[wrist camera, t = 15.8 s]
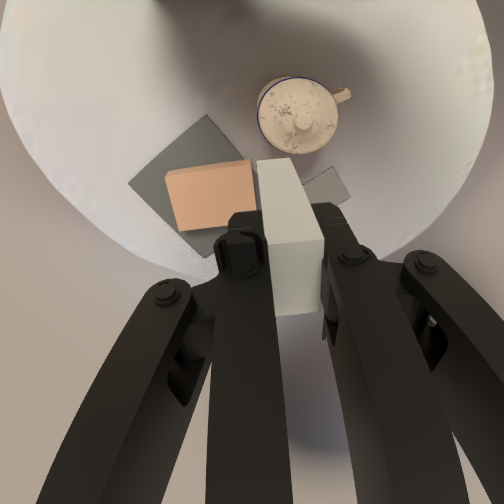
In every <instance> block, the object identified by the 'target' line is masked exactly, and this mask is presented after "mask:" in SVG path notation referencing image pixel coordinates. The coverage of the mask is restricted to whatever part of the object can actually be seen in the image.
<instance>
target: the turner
mask: <svg viewBox="0 0 504 504" xmlns="http://www.w3.org/2000/svg"><path fill="white" fill-rule="evenodd" d="M302 186H303V189H304V191H305V193H306V196H307V198H308V200H309V203H310V204H313V203H324V202H331V203H332V204H334V205H335V206H336V205H338V204H340V203H341V202H343V201H345V200H346V199H348V198H349V197H351V196H350V195H349V193H348V191H347V190H346V188H345V186H344V184H343V183H342V181H341V179H340V178H339V176H338V175H337V173H336V171H335V170H334V168H333V167H331V168H329V169H328V170H326V171H324V172H323V173H321V174H320V175H318V176H316V177H315V178H313V179H312V180H310V181H308V182H307V183H305V184H304V185H302Z"/></svg>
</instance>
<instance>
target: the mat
mask: <svg viewBox="0 0 504 504" xmlns="http://www.w3.org/2000/svg"><path fill="white" fill-rule="evenodd" d="M238 160H244V158H243V157H242V156H241V155H240V154H239V152H238V151H237V150H236V149H235V147H234V146H233V145H232V144H231V143H230V141H229V140H228V139H227V138H226V137H225V136H224V134H223V133H222V132H221V131H220V130H219V128H218V127H217V126H216V125H215V124H214V123H213V121H212V120H211V119H210V118H209V117H208V116H207V114H206V115H205V116H204V117H202V118H201V119H200V120H199V121H197V122H196V123H195V124H194V125H192V126H191V127H190V128H189V129H188V130H186V131H185V132H184V133H183V134H182V135H180V136H179V137H178V138H177V139H176V140H174V141H173V142H172V143H171V144H170V145H169V146H168V147H166V148H165V149H164V150H163V151H162V152H161V153H160V154H159V155H157V156H156V157H155V158H154V159H153V160H152V161H151V162H150V163H149V164H148V165H146V166H145V167H144V168H143V169H142V170H141V171H140V172H139V173H138V174H137V175H136V176H135V177H134V178H133V179H132V180H131V181H130V182H129V183H128V184H129V185H130V186H131V187H132V188H133V189H134V190H135V191H136V192H137V193H138V195H139V196H140V197H141V198H142V199H143V200H144V201H145V202H146V203H147V204H148V205H149V206H150V207H151V208H152V209H153V210H154V211H155V212H156V213H157V214H158V215H159V216H160V217H161V218H162V219H163V220H164V221H165V222H167V223H168V224H169V225H170V226H171V227H172V228H173V229H174V230H175V231H176V232H177V233H178V234H179V235H180V236H181V237H182V238H183V239H184V240H185V241H186V242H187V243H188V244H189V245H190V246H191V247H192V248H193V249H194V250H195V251H196V252H197V253H198V254H199V255H201V256H202V257H203V258H204V257H206V256H207V255H209V254H210V253H212V252H214V248H213V245H214V243H215V241H216V240H217V239H218V238H219V237H220V236H221V235H223V234H225V233H227V230H228V225H227V226H219V227H210V228H202V229H194V230H186V231H179V229H178V226H177V222H176V218H175V215H174V211H173V207H172V204H171V200H170V196H169V192H168V189H167V185H166V181H165V176H166V174H167V173H168V171H171V170H177V169H183V168H189V167H195V166H202V165H208V164H215V163H222V162H230V161H238ZM252 174H253V183H254V191H255V199H256V207H257V210H262V206H261V197H260V188H259V180H258V176H257V174H256V173H255V172H254V171H253V169H252Z"/></svg>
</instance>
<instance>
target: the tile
mask: <svg viewBox="0 0 504 504" xmlns="http://www.w3.org/2000/svg"><path fill="white" fill-rule="evenodd" d="M165 181H166V185H167V189H168V192H169V196H170V200H171V204H172V207H173V211H174V215H175V218H176V222H177V226H178V229H179V231H186V230H194V229H202V228H210V227H219V226H227V225H228V220H229V219H230V218H231V216H232V215H233V214H234V213H235V212H244V211H253V210H257V207H256V199H255V191H254V183H253V174H252V166H251V159H246V160H238V161H230V162H222V163H215V164H208V165H202V166H195V167H189V168H183V169H177V170H171V171H168V173H167V174H166V176H165Z"/></svg>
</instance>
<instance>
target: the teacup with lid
mask: <svg viewBox="0 0 504 504" xmlns="http://www.w3.org/2000/svg"><path fill="white" fill-rule="evenodd" d="M350 98H351V93H350V90H349V89H347V88H335V89H331V90H327V89H326V88H325V87H324V86H323V85H322V84H320V83H318V82H316V81H314V80H312V79H308V78H304V77H289V76H287V77H280V78H277V79H274V80H272V81H270V82H269V83H268V84H266V85H265V86H264V87H263V89H262V90H261V92H260V94H259V96H258V99H257V120H258V125H259V128H260V131H261V133H262V135H263V136H264V138H265V139H266V140H267V141H268V142H269V143H270V144H271V145H272V146H273V147H275V148H276V149H278V150H280V151H282V152H285V153H289V154H307V153H311V152H314V151H316V150H318V149H320V148H322V147H323V146H324V145H326V144H327V143H328V142H329V141H330V139H331V138H332V136H333V135H334V133H335V131H336V128H337V125H338V108H337V104H340V103H342V102H345V101H347V100H348V99H350Z"/></svg>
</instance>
